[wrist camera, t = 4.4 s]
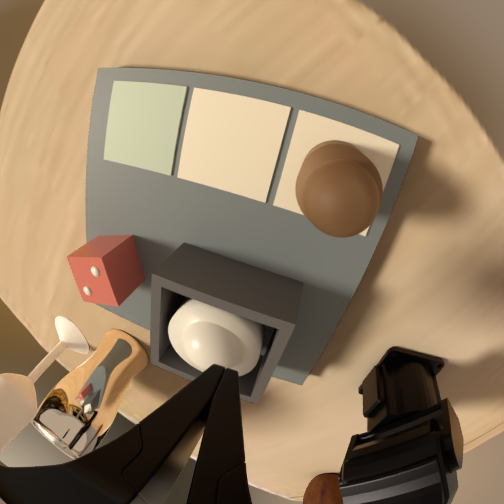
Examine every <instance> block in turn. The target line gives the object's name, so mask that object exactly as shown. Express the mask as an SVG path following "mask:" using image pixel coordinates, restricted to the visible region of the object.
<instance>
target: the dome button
mask: <svg viewBox="0 0 504 504" xmlns="http://www.w3.org/2000/svg"><path fill="white" fill-rule="evenodd" d="M168 334H169V339H170V342H171V344H172V346H173V347H174V349H175V351H176V352H177V353H178V354H179V355H180V357H181V358H182V359H183V360H185V361H186V362H187V363H188V364H190V365H191V366H193V367H194V368H196V369H198V370H200V371H202V372H204V371H205V370H206V369H207V368H209V367H210V366H211V365H213V364H218V365H221V366H224V367H225V369H226V368H230V369H233V370H236V371H238V374H239V376H242V375H245V374H247V373H248V372H250V371H251V370H252V369H253V368H254V367H255V366H256V364H257V362H258V359H259V356H260V353H261V350H262V346H263V343H264V340H265V327H264V324H261V323H258V322H255V321H253V320H250V319H247V318H244V317H241V316H238V315H235V314H232V313H230V312H227V311H224V310H221V309H218V308H216V307H213V306H210V305H208V304H205V303H202V302H199V301H197V300H194V299H192V298H189V297H187V298H186V299H185V301H184V302H183V303H182V305H181V306H180V307H179V309H178V310H177V311H176V313H175V314H174V316H173V317H172V319H171V320H170V323H169V326H168Z"/></svg>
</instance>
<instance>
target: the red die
mask: <svg viewBox="0 0 504 504" xmlns="http://www.w3.org/2000/svg"><path fill="white" fill-rule="evenodd" d="M67 259H68V262H69V265H70V267H71V270H72V273H73V275H74V278H75V281H76V283H77V286H78V288H79V291H80V293H81V296H82V298H83V301H85V302H91V303H97V304H103V305H110V306H117V307H119V306H120V305H121V304H122V303H123V302H124V301H125V300H126V299H127V298H128V297H129V296H130V295H131V294H132V293H133V292H134V291H135V290H136V289H137V288H138V287H139V286H140V285H141V284H142V283H143V282H144V281H145V276H144V273H143V270H142V266H141V263H140V259H139V256H138V252H137V248H136V245H135V241H134V237H133V235H110V236H97V237H96V238H94V239H93V240H91V241H89V242H88V243H86V244H85V245H83V246H82V247H80V248H79V249H78V250H76V251H75V252H73V253H72V254H70V255H69V256H67Z"/></svg>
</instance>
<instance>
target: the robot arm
mask: <svg viewBox="0 0 504 504" xmlns="http://www.w3.org/2000/svg"><path fill="white" fill-rule="evenodd" d="M443 367H444V361H443V360H442V359H438V358H434V357H430V356H426V355H422V354H418V353H414V352H410V351H407V350H403V349H399V348H395V347H392V348H390V349H388V350H387V352H386V353H385V355H384V356H383V357H382V359H381V360H380V361H379V363H378V364H377V365H376V366H374V368H373V369H372V370H371V372H370V373H369V374H368V375H367V377H366V378H365V379H364V381H363V383H362V384H361V386H360V387H359V394H362V395H363V415H364V417H366V418H367V432H365V433H362V434H356V435H353V436H352V437H351V441H350V444H349V447H348V450H347V453H346V456H345V459H344V462H343V464H342V467H341V471H340V474H339V482H340V486H339V489H340V492H341V495H342V498H343V504H451V502H452V500H453V498H454V496H455V493H456V491H457V489H458V480H457V472H456V470H458V469H461V468H462V460H463V435H462V431H461V427H460V423H459V419H458V417H457V415H456V413H455V411H454V409H453V407H452V406H451V404H450V402H449V400H448V398H445V399H443V400H441V398H440V393H439V389H438V385H437V381H436V377H435V376H436V375H437V374H438V372H439V371H440V370H441V369H442V368H443ZM203 432H204V433H203ZM202 434H203V437H202V441H201V445H200V450H199V454H198V458H197V462H196V466H195V470H194V474H193V478H192V483H191V487H190V491H189V495H188V499H187V503H186V504H252V501H251V497H250V492H249V488H248V480H247V473H246V463H245V451H244V440H243V427H242V415H241V402H240V388H239V374H238V371H236V370H233V369H230V368H226V369H225V367H224V366H221V365H218V364H213V365H211V366H210V367H209V368H207V369H206V370H205V371H204V372H203V373H201V374H200V375H199V376H198V377H196V378H195V379H194V380H193V381H192V382H190V383H189V384H188V385H187V386H185V387H184V388H183V389H182V390H180V391H179V392H178V393H177V394H175V395H174V396H173V397H172V398H170V399H169V400H168V401H166V402H165V403H164V404H163V405H161V406H160V407H159V408H157V409H156V410H155V411H154V412H152V413H151V414H150V415H148V416H147V417H146V418H144V419H143V420H142V421H140V422H139V424H136V425H135V426H133V427H132V428H131V429H129V430H128V431H126V432H125V433H124V434H122V435H120V436H119V437H117V438H116V439H114V440H112V441H111V442H109V443H107V444H105V445H103V446H101V447H99V448H97V449H95V450H93V451H91V452H89V453H87V454H85V455H83V456H81V457H79V458H77V459H75V460H72V461H70V462H67V463H63V464H58V465H49V466H35V467H7V466H6V465H4V464H3V463H2V462H1V461H0V504H163V502H164V501H165V499H166V497H167V496H168V494H169V492H170V491H171V489H172V487H173V486H174V484H175V482H176V480H177V478H178V477H179V475H180V473H181V471H182V470H183V468H184V466H185V464H186V462H187V461H188V459H189V457H190V456H191V454H192V452H193V450H194V448H195V447H196V445H197V443H198V441H199V439H200V438H201V436H202Z"/></svg>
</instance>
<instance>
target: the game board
mask: <svg viewBox="0 0 504 504" xmlns="http://www.w3.org/2000/svg"><path fill="white" fill-rule="evenodd" d="M417 139H418V135H416V134H414V133H412V132H410V131H407V130H405V129H403V128H400V127H398V126H396V125H393V124H391V123H389V122H386V121H384V120H381V119H379V118H376V117H374V116H371V115H368V114H366V113H363V112H360V111H357V110H355V109H352V108H349V107H346V106H343V105H340V104H337V103H334V102H331V101H327V100H324V99H321V98H317V97H314V96H311V95H307V94H303V93H300V92H296V91H292V90H288V89H284V88H280V87H276V86H271V85H267V84H262V83H257V82H253V81H247V80H242V79H237V78H231V77H225V76H218V75H211V74H204V73H196V72H187V71H177V70H165V69H148V68H98V72H97V78H96V83H95V89H94V96H93V102H92V110H91V118H90V127H89V137H88V150H87V166H86V236H87V243H88V242H89V241H91V240H93V239H94V238H96V237H97V236H110V235H133V237H134V241H135V245H136V248H137V252H138V256H139V259H140V263H141V266H142V270H143V273H144V276H145V281H144V282H143V283H142V284H141V285H140V286H139V287H138V288H137V289H136V290H135V291H134V292H133V293H132V294H131V295H130V296H129V297H128V298H127V299H126V300H125V301H124V302H123V303H122V304H121V305H120V306H119V307H117V306H110V305H103V304H97V303H95V304H97V305H99V306H100V307H102V308H104V309H106V310H108V311H110V312H112V313H114V314H116V315H118V316H120V317H122V318H125V319H127V320H129V321H131V322H133V323H135V324H137V325H139V326H141V327H144V328H146V329H148V330H150V345H151V364H153V365H155V366H158V367H160V368H162V369H164V370H167V371H169V372H171V373H174V374H176V375H178V376H181V377H183V378H185V379H188V380H190V381H193V380H194V379H195V378H196V377H198V376H199V375H200V374H201V373H203V372H202V371H200V370H198V369H196V368H194V367H193V366H191V365H190V364H188V363H187V362H186V361H185V360H183V359H182V358H181V357H180V355H179V354H178V353H177V352H176V351H175V349H174V347H173V346H172V344H171V342H170V339H169V334H168V326H169V323H170V320H171V319H172V317H173V316H174V314H175V313H176V311H177V310H178V309H179V307H180V306H181V305H182V303H183V302H184V301H185V299H186V298H187V297H189V298H192V299H194V300H197V301H199V302H202V303H205V304H208V305H210V306H213V307H216V308H218V309H221V310H224V311H227V312H230V313H232V314H235V315H238V316H241V317H244V318H247V319H250V320H253V321H255V322H258V323H261V324H264V327H265V340H264V343H263V346H262V350H261V353H260V356H259V359H258V362H257V364H256V366H255V367H254V368H253V369H252V370H251V371H250V372H248V373H247V374H245V375H242V376H239V388H240V399H242V400H245V401H248V402H251V403H254V404H258V402H259V400H260V398H261V396H262V394H263V392H264V390H265V388H266V386H267V384H268V382H269V380H270V378H271V376H272V377H275V378H279V379H282V380H285V381H289V382H292V383H296V384H299V385H302V384H303V383H304V381H305V380H306V378H307V377H308V375H309V373H310V372H311V370H312V368H313V367H314V365H315V363H316V362H317V360H318V358H319V357H320V355H321V353H322V352H323V350H324V348H325V347H326V345H327V343H328V341H329V340H330V338H331V336H332V334H333V332H334V331H335V329H336V327H337V325H338V323H339V322H340V320H341V318H342V316H343V314H344V312H345V310H346V308H347V306H348V305H349V303H350V301H351V299H352V297H353V295H354V293H355V291H356V289H357V287H358V285H359V283H360V281H361V279H362V277H363V275H364V273H365V270H366V268H367V266H368V264H369V262H370V260H371V258H372V255H373V253H374V251H375V249H376V247H377V244H378V242H379V240H380V238H381V235H382V233H383V231H384V228H385V226H386V224H387V221H388V219H389V216H390V214H391V211H392V209H393V206H394V204H395V201H396V199H397V196H398V194H399V191H400V188H401V186H402V183H403V180H404V178H405V175H406V172H407V169H408V166H409V163H410V161H411V158H412V155H413V152H414V149H415V146H416V142H417ZM330 140H339V141H344V142H347V143H349V144H351V145H353V146H355V147H356V148H357V149H358V150H359V151H361V152H362V153H363V154H364V155H365V156H366V157H367V158H369V159H370V161H371V162H372V163H373V164H374V165H375V167H376V168H377V170H378V172H379V174H380V177H381V180H382V185H383V196H382V201H381V204H380V207H379V210H378V213H377V215H376V217H375V219H374V221H373V222H372V223H371V225H370V226H369V227H368V228H367V229H366V230H364V231H363V232H361V233H359V234H357V235H355V236H352V237H346V238H338V237H333V236H329V235H327V234H325V233H323V232H321V231H320V230H318V229H317V228H316V227H315V226H314V225H313V224H312V223H311V222H310V221H309V220H308V219H307V218H306V217H305V215H304V214H303V213H302V211H301V209H300V207H299V205H298V202H297V199H296V192H295V186H296V180H297V176H298V173H299V171H300V168H301V166H302V163H303V161H304V159H305V157H306V155H307V154H308V152H309V151H310V150H311V149H312V148H314V147H315V146H316V145H318V144H320V143H322V142H325V141H330Z"/></svg>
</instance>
